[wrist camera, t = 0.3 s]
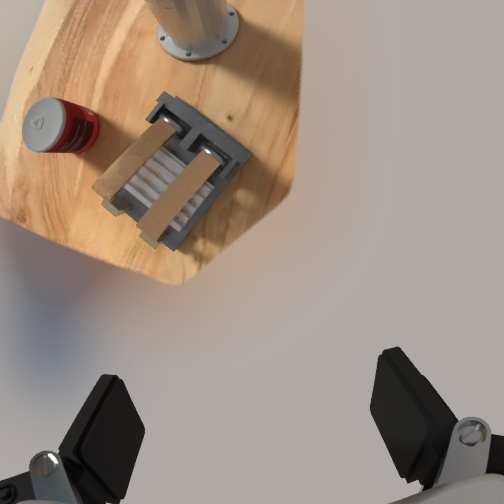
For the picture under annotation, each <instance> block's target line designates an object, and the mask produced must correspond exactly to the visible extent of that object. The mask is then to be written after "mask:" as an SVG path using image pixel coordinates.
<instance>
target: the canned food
mask: <svg viewBox="0 0 504 504" xmlns="http://www.w3.org/2000/svg"><path fill="white" fill-rule="evenodd" d="M98 132H99V121H98V118H97V116H96V115H95V114H94V112H93V111H92V110H90V109H88V108H86V107H83V106H80V105H77V104H74V103H71V102H68V101H65V100H62V99H58V98H55V97H44V98H41V99H39V100H37V101H36V102H35V103H34V104H33V105H32V106H31V107H30V108H29V110H28V112H27V113H26V116H25V118H24V121H23V126H22V136H23V140H24V143H25V145H26V146H27V147H28V148H29V149H30V150H32V151H35V152H45V153H80V152H82V151H85V150H86V149H88V148H89V147H90V146H91V145H92V144H93V143H94V142H95V140H96V138H97V136H98Z"/></svg>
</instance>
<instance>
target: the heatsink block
mask: <svg viewBox="0 0 504 504" xmlns="http://www.w3.org/2000/svg"><path fill="white" fill-rule="evenodd" d="M156 101H157V102H159V103H158V104H157V105H156V107H155V108H154V109H153V110H152V112H151V113H150V114H149V115H148V117H147V118H146V119H145V120H147V121H148V122H150V123H152V124H154V123H155V122H156V121H157V120H158V119H157V116H158V115H159V113H161V112H162V111H163V112H164V113H166V114H167V115H169V116H170V117H171V118H173V119H174V120H175V121H177V122H178V123H179V124H181V125H182V126H183V127H185V130H184V132H183V133H182V134H181V135H178V134H177V133H176V134H175V135H174V136H173V137H172V138H171V139H170V140H169V141H168V142H167V143H166V144H165V145H164V146H163V147H162V148H161V149H160V150H159V151H158V152H157V153H156V154H155V155H154V156H153V157H152V158H151V159H150V160H149V161H148V162H147V163H146V164H145V165H144V166H143V167H142V168H141V169H140V170H139V171H138V173H137V174H136V175H135V176H134V177H133V178H132V179H131V180H130V181H129V182H128V183H127V185H126V186H125V187H124V188H123V189H122V190H121V191H120V192H119V194H118V195H117V196H116V197H115V198H114V199H113V200H112V202H111V203H110V204H109V203H108V202H107V201H106V200H103V201H102V203H101V205H102V206H103V207H104V208H106V209H107V210H108V211H109V212H110V213H112V214H113V215H114V216H115V217H116V216H119V215H121V214H124V213H127V214H128V215H129V216H130V217H131V218H133V219H134V220H135V221H136V222H137V223H138V222H139V220H140V219H141V218H142V217H143V216H144V214H145V213H146V212H147V211H148V210H149V208H150V207H151V206H152V205H153V204H154V203H155V201H156V200H157V199H158V198H159V197H160V196H161V194H162V193H163V192H164V191H165V190H166V189H167V188H168V186H169V185H170V184H171V183H172V182H173V181H174V180H175V179H176V178H177V176H178V175H179V174H180V173H181V172H182V171H183V170H184V169H185V168H186V167H187V166H188V165H189V164H190V162H191V161H192V160H193V159H194V158H195V157H196V156H197V155H198V154H199V153H200V151H199V150H198V149H199V148H200V146H201V145H202V144H203V143H206V144H207V145H208V146H210V147H211V148H212V149H213V150H215V151H216V152H217V153H218V154H220V155H221V156H222V157H224V158H225V159H226V160H227V161H228V163H227V164H226V165H225V166H224V167H223V168H220V167H218V168H217V169H216V170H215V171H214V173H213V174H212V175H211V176H210V177H209V178H208V179H207V181H206V182H205V183H204V184H203V185H202V186H201V187H200V189H199V190H198V191H197V192H196V193H195V194H194V196H193V197H192V198H191V199H190V200H189V202H188V203H187V204H186V205H185V206H184V207H183V209H182V210H181V211H180V212H179V214H178V215H177V216H176V217H175V218H174V220H173V221H172V222H171V223H170V225H169V226H168V227H167V228H166V230H165V231H164V232H163V233H162V235H161V236H160V237H159V238H158V240H157V241H156V242H155V241H154V240H153V239H151V238H150V237H149V236H148V235H146V234H145V233H144V232H143V231H142V232H141V234H140V235H139V237H140V238H142V239H143V240H144V241H145V242H147V243H148V244H149V245H150V246H152V247H153V248H154V249H156V248H157V247H158V246H159V245H160V244H161V243H163V244H165V245H166V246H167V247H168V248H170V249H171V250H172V251H175V250H176V249H177V247H178V246H179V245H180V243H181V242H182V241H183V239H184V238H185V237H186V235H187V234H188V233H189V231H190V230H191V229H192V228H193V226H194V225H195V224H196V222H197V221H198V220H199V219H200V217H201V216H202V215H203V214H204V212H205V211H206V210H207V209H208V207H209V206H210V205H211V204H212V202H213V201H214V200H215V199H216V197H217V196H218V195H219V194H220V192H221V191H222V190H223V189H224V187H225V186H226V185H227V184H228V183H229V181H230V180H231V179H232V178H233V177H234V175H235V174H236V173H237V172H238V171H239V169H240V168H241V167H242V166H243V165H244V163H245V162H246V161H247V160H248V159H249V158H250V156H251V155H252V153H251V152H250V151H249V150H247V149H246V148H245V147H244V146H242V145H241V144H240V143H239V142H237V141H236V140H235V139H234V138H232V137H231V136H230V135H228V134H227V133H226V132H225V131H223V130H222V129H221V128H219V127H218V126H217V125H215V124H214V123H213V122H211V121H210V120H209V119H207V118H206V117H205V116H203V115H202V114H201V113H199V112H198V111H197V110H195V109H194V108H193V107H191V106H190V105H188V104H187V103H186V102H184V101H183V100H181V99H180V98H179V97H177V96H176V97H175V98H174V97H172V96H171V95H169V94H168V93H166V92H165V91H164V92H163V93H162V94H161V95H160V96H159V98H158V99H157V100H156Z"/></svg>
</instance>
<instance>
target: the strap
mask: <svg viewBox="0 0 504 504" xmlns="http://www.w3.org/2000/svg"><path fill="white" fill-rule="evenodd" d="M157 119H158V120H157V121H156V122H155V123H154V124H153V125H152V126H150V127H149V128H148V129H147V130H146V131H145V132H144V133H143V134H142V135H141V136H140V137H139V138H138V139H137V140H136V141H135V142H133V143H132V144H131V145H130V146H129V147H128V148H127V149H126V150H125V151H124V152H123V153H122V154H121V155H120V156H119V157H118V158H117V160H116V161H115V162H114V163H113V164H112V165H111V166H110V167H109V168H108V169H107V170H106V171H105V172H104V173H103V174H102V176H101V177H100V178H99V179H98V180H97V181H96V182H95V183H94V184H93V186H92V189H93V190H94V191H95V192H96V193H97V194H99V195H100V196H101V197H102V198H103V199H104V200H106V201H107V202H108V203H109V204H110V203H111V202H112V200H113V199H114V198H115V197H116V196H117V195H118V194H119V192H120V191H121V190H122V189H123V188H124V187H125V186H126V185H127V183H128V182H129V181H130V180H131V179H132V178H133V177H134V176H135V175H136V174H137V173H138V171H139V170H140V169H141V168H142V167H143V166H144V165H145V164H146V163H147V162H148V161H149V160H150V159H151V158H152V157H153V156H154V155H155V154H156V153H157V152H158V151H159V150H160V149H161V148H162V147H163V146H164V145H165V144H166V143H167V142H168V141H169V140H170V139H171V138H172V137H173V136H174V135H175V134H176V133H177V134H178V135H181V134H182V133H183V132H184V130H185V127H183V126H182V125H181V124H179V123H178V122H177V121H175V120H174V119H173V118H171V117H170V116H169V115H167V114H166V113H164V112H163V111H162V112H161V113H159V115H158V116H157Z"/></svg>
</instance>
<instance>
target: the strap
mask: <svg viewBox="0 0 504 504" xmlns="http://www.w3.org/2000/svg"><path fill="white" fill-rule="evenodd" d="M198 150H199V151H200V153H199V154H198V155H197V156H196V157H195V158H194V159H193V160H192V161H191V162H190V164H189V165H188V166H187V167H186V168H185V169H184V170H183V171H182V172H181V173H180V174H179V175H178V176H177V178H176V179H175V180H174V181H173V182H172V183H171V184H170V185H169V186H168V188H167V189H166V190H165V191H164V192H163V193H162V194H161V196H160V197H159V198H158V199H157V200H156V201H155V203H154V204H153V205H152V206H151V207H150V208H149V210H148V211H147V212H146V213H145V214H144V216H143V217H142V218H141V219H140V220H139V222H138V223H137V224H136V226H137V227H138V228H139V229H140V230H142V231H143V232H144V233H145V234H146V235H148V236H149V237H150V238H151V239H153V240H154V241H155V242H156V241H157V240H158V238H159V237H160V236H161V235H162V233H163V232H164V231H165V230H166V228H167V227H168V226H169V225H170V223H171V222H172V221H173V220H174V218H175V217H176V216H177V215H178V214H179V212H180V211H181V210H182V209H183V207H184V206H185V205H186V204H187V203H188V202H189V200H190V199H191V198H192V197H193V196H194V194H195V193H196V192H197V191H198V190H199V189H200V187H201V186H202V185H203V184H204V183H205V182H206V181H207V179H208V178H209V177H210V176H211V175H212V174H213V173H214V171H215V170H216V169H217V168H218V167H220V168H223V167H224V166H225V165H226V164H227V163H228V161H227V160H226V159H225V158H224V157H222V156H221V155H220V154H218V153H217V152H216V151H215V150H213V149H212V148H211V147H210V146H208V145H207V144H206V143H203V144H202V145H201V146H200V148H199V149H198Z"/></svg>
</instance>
